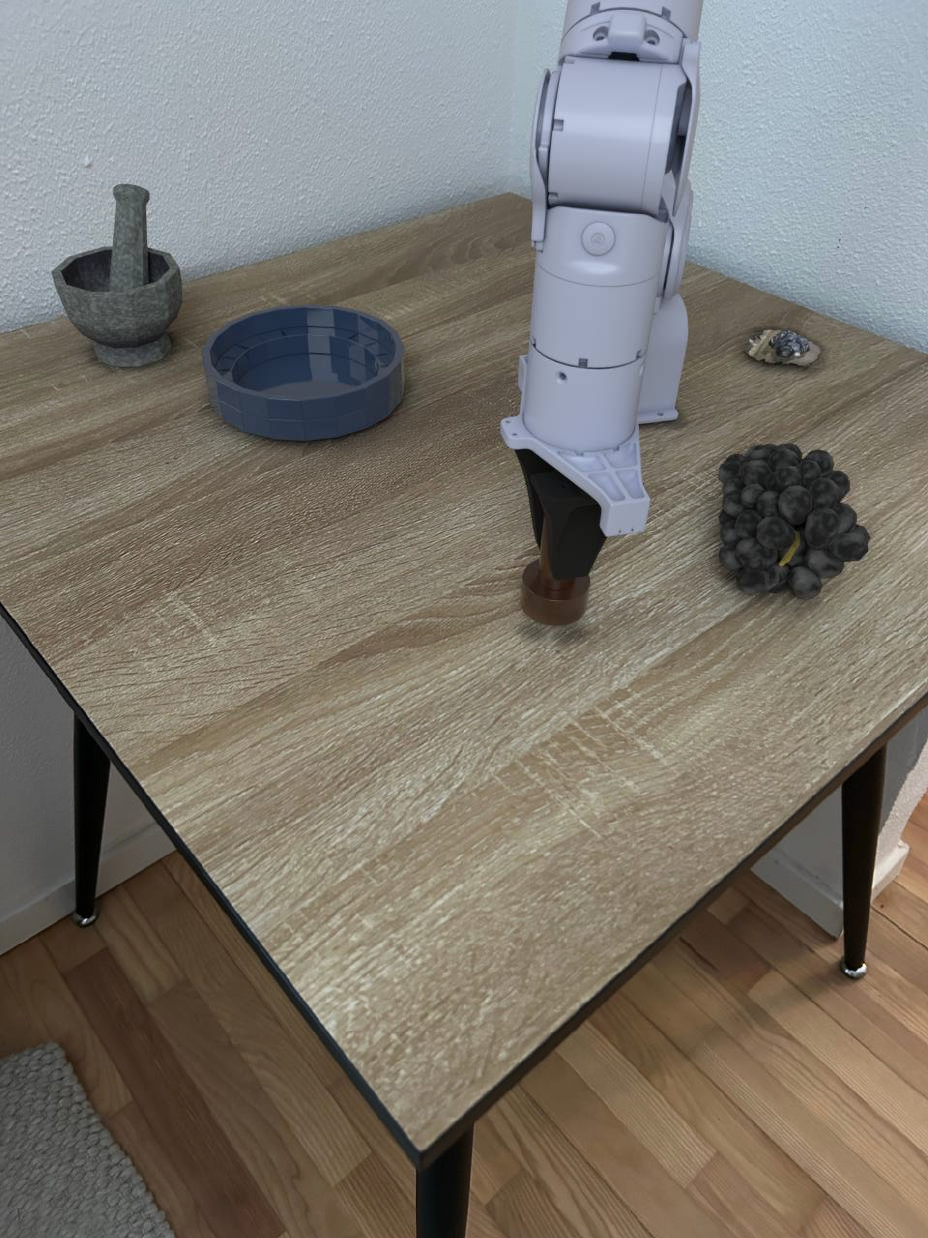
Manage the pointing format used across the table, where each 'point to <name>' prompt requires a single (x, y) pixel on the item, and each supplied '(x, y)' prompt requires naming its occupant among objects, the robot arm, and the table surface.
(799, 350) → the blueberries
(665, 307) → the robot arm
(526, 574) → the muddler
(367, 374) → the bowl
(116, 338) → the mortar and pestle
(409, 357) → the table surface
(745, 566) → the fruit
